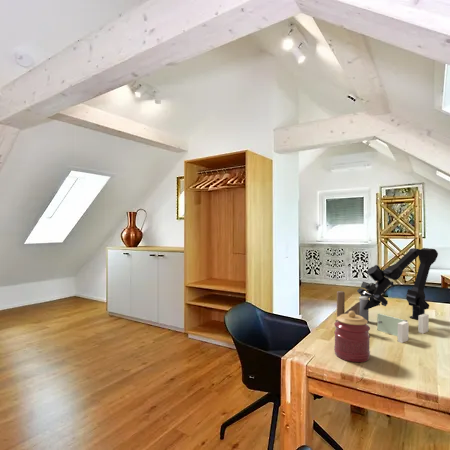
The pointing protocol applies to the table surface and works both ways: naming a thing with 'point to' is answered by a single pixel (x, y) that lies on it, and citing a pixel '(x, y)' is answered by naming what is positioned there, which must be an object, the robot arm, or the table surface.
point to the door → (388, 324)
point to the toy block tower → (342, 305)
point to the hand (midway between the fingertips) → (361, 308)
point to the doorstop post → (363, 302)
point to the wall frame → (422, 327)
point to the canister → (352, 337)
